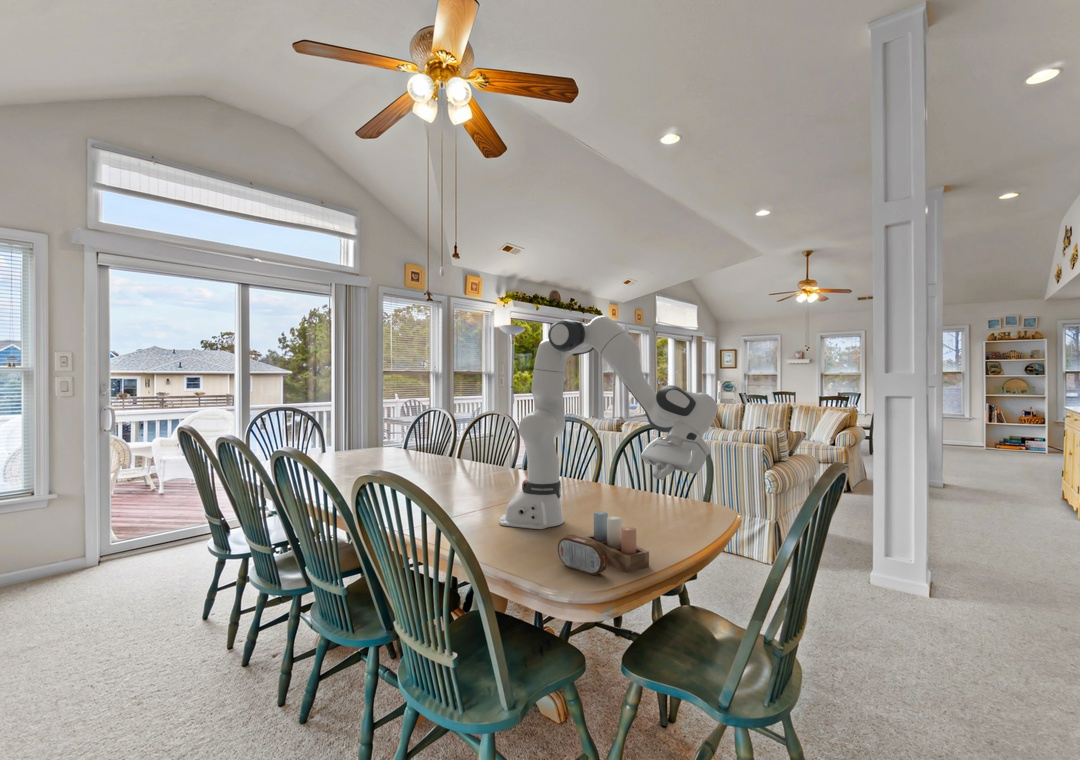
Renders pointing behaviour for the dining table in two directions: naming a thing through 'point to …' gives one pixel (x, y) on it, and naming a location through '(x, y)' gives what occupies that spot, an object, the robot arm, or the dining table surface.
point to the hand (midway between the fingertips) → (657, 477)
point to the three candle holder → (625, 557)
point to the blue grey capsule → (600, 526)
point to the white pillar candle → (614, 531)
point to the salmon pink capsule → (628, 540)
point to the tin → (582, 554)
